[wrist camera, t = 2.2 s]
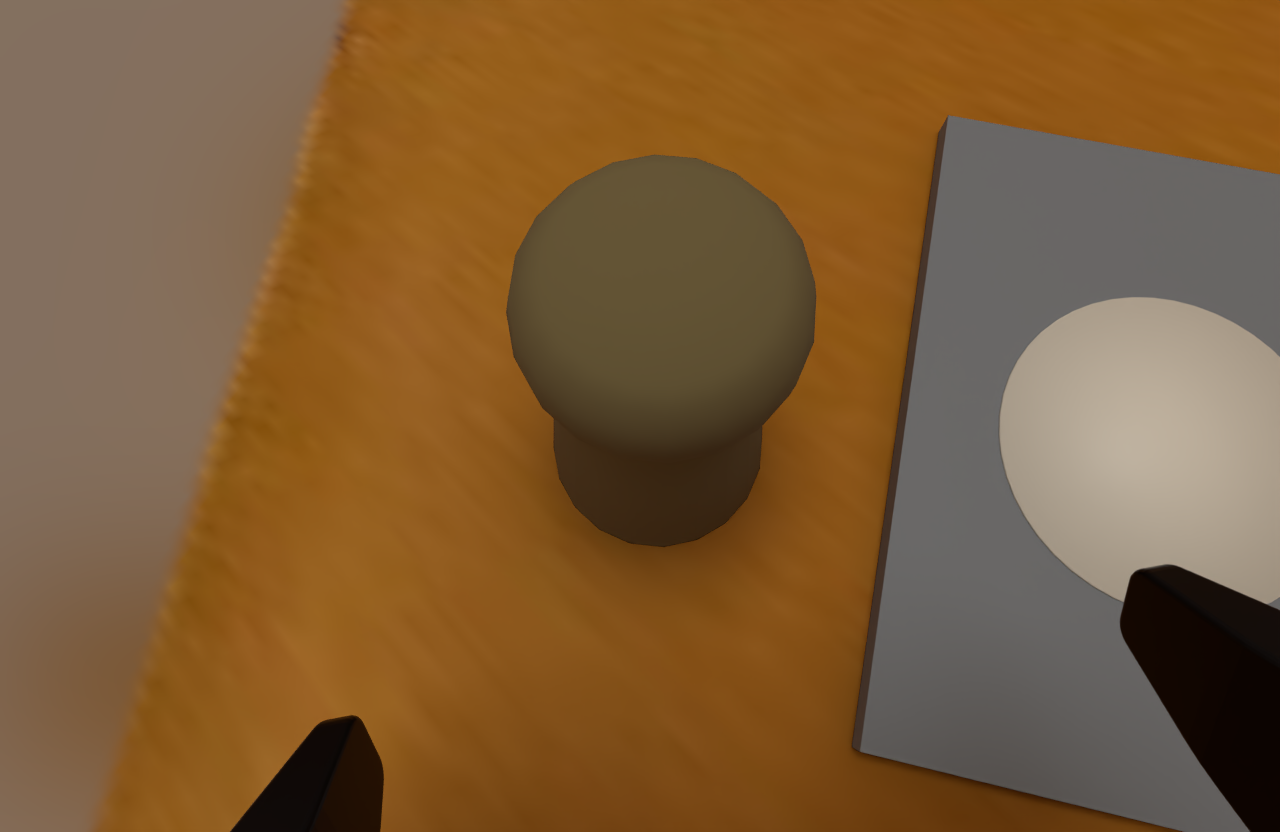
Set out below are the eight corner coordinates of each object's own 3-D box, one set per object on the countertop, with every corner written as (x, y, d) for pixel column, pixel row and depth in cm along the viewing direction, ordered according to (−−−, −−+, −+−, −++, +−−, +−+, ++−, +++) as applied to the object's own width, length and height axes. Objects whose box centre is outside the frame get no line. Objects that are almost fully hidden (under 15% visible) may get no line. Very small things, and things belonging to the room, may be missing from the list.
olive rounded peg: (628, 309, 23) (607, 32, 12) (800, 412, 22) (939, 208, 11) (512, 471, 22) (376, 318, 11) (690, 589, 21) (730, 546, 10)
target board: (1424, 888, 18) (1461, 900, 17) (851, 746, 19) (861, 752, 18) (1391, 213, 23) (1419, 197, 22) (938, 131, 24) (949, 113, 23)
